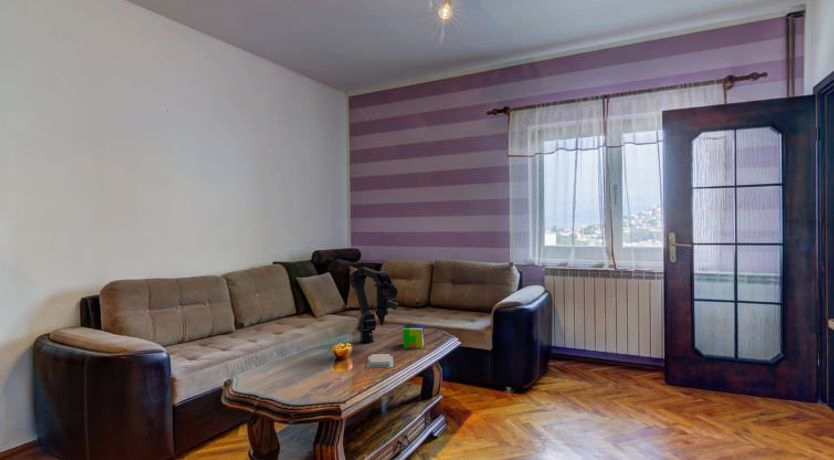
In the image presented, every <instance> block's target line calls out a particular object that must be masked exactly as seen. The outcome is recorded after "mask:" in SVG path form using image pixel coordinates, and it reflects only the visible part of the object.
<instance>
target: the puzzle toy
mask: <svg viewBox="0 0 834 460" xmlns="http://www.w3.org/2000/svg"><path fill="white" fill-rule="evenodd" d="M424 330H425V328H424V325H418V324H417V325H413V324H410V325H409V324H408V325H407V324H405V326H404V327H403V329H402V341H403V343H402V344H403V345H402V347H403V348H409V349H410V348H412V349H413V348H414V349H415V348H417V349H418V348H419V349H421V350H422V349H423V347H424V343H425V338H424V337H425V335H424V333H425V332H424Z"/></svg>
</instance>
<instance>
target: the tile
mask: <svg viewBox="0 0 834 460" xmlns="http://www.w3.org/2000/svg"><path fill="white" fill-rule="evenodd" d="M370 356H371V359H370V367H369V368H384V367H383V366H390V356H391V354H390V353H379V354H378V353H377V354H376V353H375V354H374V353H372V354H370Z"/></svg>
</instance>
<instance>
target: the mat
mask: <svg viewBox="0 0 834 460" xmlns="http://www.w3.org/2000/svg"><path fill="white" fill-rule="evenodd" d="M370 359H371V355H369V356H367V363H366V368H371V367H370ZM391 367H392V368H393V367H394V355H390V366H383V367H382V368H391Z"/></svg>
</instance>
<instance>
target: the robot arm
mask: <svg viewBox="0 0 834 460" xmlns="http://www.w3.org/2000/svg"><path fill="white" fill-rule="evenodd" d="M348 278H349V279H348V280H349V282H350V285H351V287H352V288H353V289H354V290H355V293H356V297H357V301H358V306H359V310H360V314H361V315H360V319H359V324H358V325H357V327H356V329H357V332H359V335H360V340H358V343H361V344H370V343H374V342H375V340H374V333H373V331H376V328H377V327H376V326H377V319H378V322H379V324H380V326H384V322H385V317H386V316H387V315H388V314H389V313H388V312H389V309H393V310H394V311H397V309H398V306H399V303H398V302H397V301H396V299H395V298H396V297H397V295H398V289H397V288H396V287H395V284H393V280H392V279H391V276H390V274H389V272H387V271H377V270H375V269H373V268H369V267H368V266H360V267H358V268H357V269H356V270H355V271H353V272H352V273H351V274H350V276H349V277H348ZM367 278H370V279H372V280H373V282H374V283H375V284H374V285H373V286H374V287H375V289H376V295H375V296H376V300H375V301H376V309H375V314H374V313H372V312H371V311H370V306H369V301H368V298H367V295H366V294H367V293H366V291H365V286H366V279H367ZM390 298H391V299H392V300H389V299H390ZM375 315H376V316H375ZM376 317H377V319H376Z"/></svg>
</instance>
